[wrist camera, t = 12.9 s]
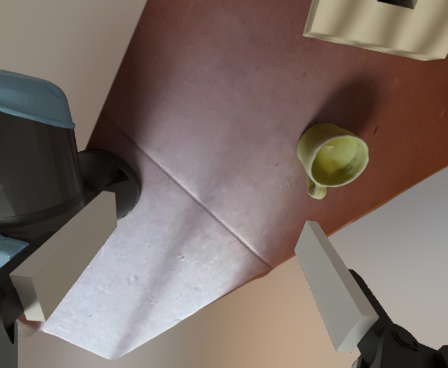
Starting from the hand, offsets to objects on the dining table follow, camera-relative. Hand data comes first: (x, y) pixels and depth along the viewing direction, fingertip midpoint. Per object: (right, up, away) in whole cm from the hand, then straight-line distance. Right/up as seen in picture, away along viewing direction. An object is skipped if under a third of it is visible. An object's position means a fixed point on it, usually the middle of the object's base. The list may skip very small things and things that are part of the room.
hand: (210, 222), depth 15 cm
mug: (+18, +8, +26) cm, 33 cm away
